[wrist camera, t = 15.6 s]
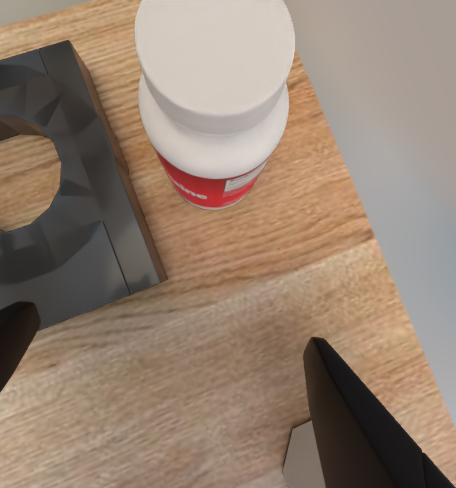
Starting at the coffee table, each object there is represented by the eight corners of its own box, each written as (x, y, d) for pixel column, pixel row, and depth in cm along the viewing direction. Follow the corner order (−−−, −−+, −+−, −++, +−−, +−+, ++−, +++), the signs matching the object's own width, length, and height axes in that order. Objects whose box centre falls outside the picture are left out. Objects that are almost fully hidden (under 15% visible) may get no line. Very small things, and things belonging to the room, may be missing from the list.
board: (89, 67, 18) (70, 36, 15) (170, 278, 18) (163, 281, 15) (-105, 126, 17) (-159, 103, 14) (-24, 354, 16) (-66, 371, 14)
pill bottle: (153, 154, 18) (62, -11, 7) (226, 113, 18) (249, -102, 7) (199, 228, 18) (180, 179, 7) (271, 184, 18) (361, 75, 7)
